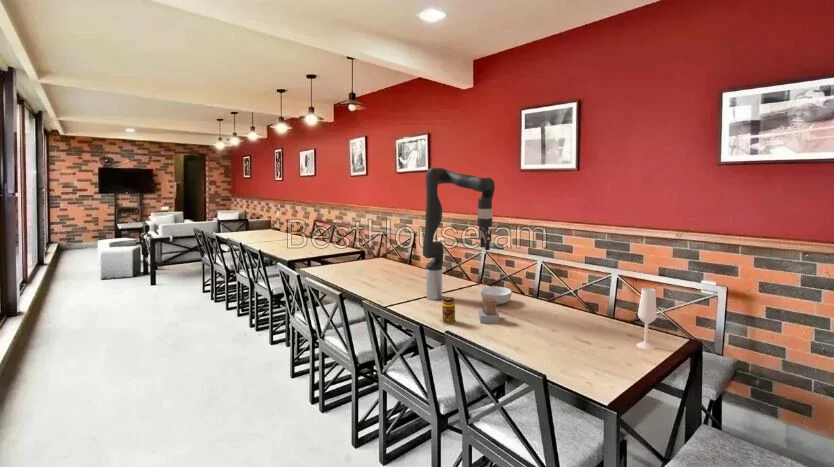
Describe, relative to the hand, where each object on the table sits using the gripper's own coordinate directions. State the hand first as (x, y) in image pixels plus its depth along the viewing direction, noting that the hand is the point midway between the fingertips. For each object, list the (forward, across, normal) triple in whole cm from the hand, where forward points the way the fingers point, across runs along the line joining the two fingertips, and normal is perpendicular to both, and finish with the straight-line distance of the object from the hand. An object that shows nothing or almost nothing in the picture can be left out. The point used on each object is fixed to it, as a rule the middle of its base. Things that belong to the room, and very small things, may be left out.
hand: (484, 248), depth 215 cm
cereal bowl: (+33, -12, +10) cm, 37 cm away
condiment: (+33, +12, -22) cm, 42 cm away
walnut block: (+30, +14, -2) cm, 33 cm away
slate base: (+34, +14, -2) cm, 36 cm away
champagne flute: (+33, +56, +51) cm, 83 cm away
